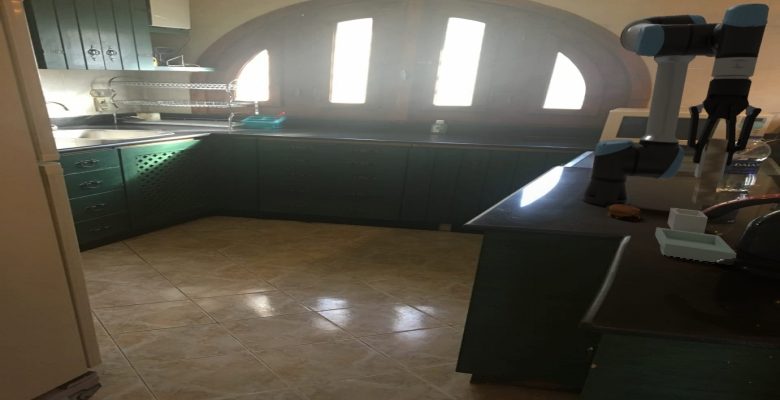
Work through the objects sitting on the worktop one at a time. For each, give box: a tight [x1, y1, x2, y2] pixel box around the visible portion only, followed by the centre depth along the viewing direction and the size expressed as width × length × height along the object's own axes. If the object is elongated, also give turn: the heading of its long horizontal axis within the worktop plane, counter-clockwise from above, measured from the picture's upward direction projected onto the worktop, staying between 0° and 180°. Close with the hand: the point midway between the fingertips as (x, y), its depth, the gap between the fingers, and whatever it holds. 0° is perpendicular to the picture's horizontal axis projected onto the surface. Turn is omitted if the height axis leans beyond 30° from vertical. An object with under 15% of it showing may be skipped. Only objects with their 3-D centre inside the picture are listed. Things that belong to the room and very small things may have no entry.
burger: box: [606, 204, 642, 222], centre depth 128 cm, size 10×9×5 cm
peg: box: [691, 137, 728, 206], centre depth 97 cm, size 4×4×16 cm
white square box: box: [667, 207, 708, 234], centre depth 117 cm, size 8×8×6 cm
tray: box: [654, 226, 737, 262], centre depth 102 cm, size 14×14×3 cm
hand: (707, 177), depth 97 cm, fingers closed on peg, 3 cm apart
